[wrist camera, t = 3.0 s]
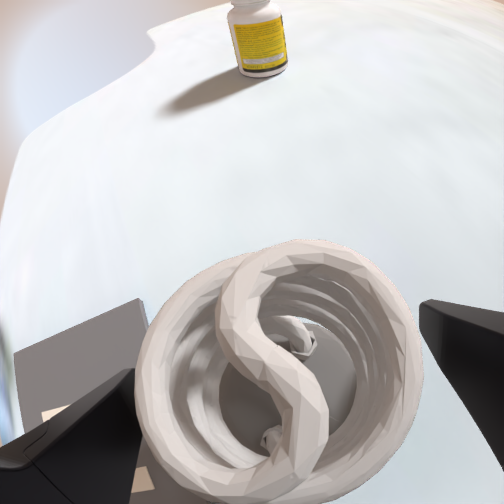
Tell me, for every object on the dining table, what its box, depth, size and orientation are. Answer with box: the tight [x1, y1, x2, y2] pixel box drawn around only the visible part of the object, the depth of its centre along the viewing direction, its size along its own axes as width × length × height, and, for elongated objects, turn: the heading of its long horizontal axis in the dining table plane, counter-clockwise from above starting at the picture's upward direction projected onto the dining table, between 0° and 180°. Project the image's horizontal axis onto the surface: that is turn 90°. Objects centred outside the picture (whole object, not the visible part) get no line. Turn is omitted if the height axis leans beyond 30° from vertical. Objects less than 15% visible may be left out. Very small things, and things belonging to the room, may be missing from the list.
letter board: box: [14, 298, 212, 504], centre depth 14 cm, size 16×12×1 cm
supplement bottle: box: [227, 0, 288, 78], centre depth 26 cm, size 5×5×10 cm
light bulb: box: [134, 239, 424, 504], centre depth 9 cm, size 6×6×12 cm
